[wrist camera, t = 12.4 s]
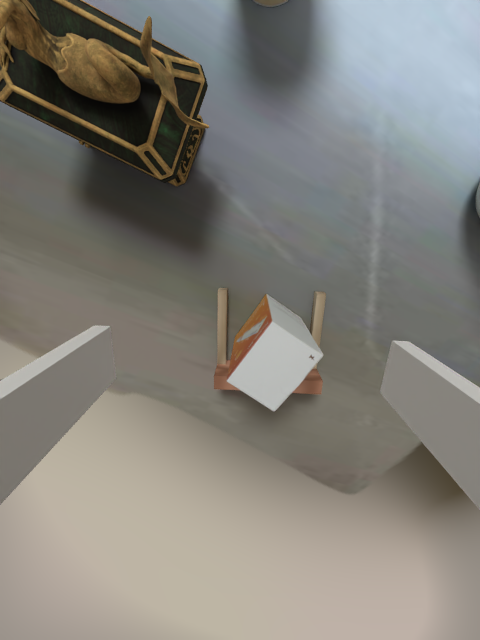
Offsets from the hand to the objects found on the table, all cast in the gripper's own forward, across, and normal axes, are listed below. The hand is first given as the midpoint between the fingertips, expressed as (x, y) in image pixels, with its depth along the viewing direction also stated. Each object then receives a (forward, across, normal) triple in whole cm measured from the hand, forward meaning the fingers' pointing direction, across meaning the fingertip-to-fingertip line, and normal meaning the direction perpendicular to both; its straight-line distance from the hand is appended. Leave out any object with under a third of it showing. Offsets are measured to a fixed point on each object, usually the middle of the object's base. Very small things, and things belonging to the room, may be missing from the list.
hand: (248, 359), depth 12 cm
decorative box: (+26, -12, +16) cm, 33 cm away
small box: (+25, +3, -7) cm, 26 cm away
